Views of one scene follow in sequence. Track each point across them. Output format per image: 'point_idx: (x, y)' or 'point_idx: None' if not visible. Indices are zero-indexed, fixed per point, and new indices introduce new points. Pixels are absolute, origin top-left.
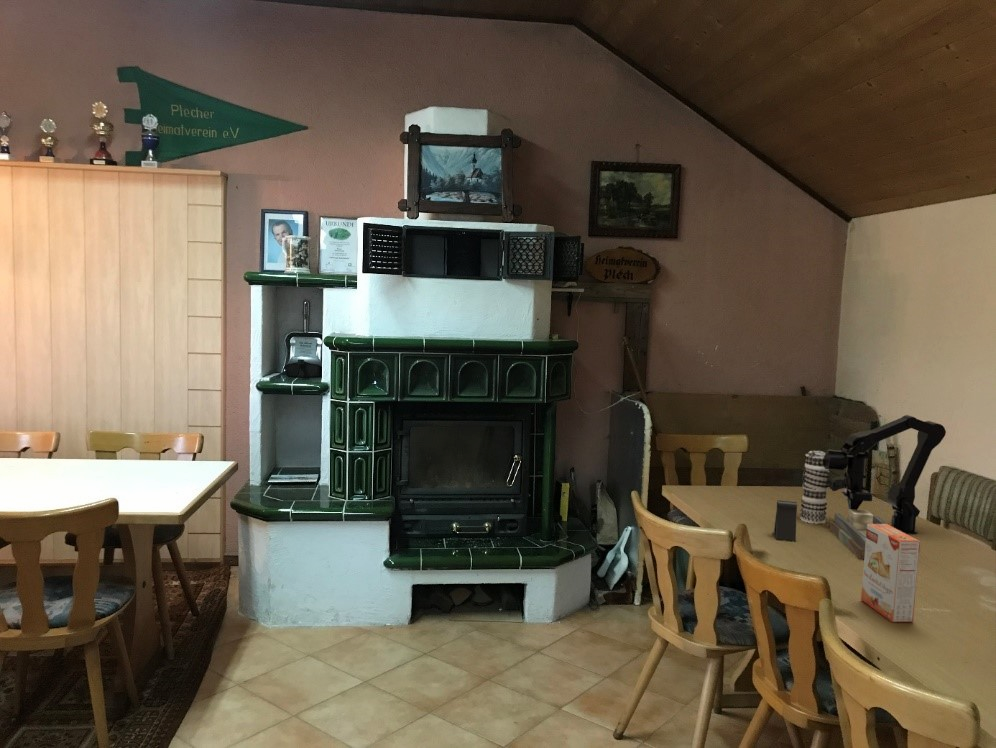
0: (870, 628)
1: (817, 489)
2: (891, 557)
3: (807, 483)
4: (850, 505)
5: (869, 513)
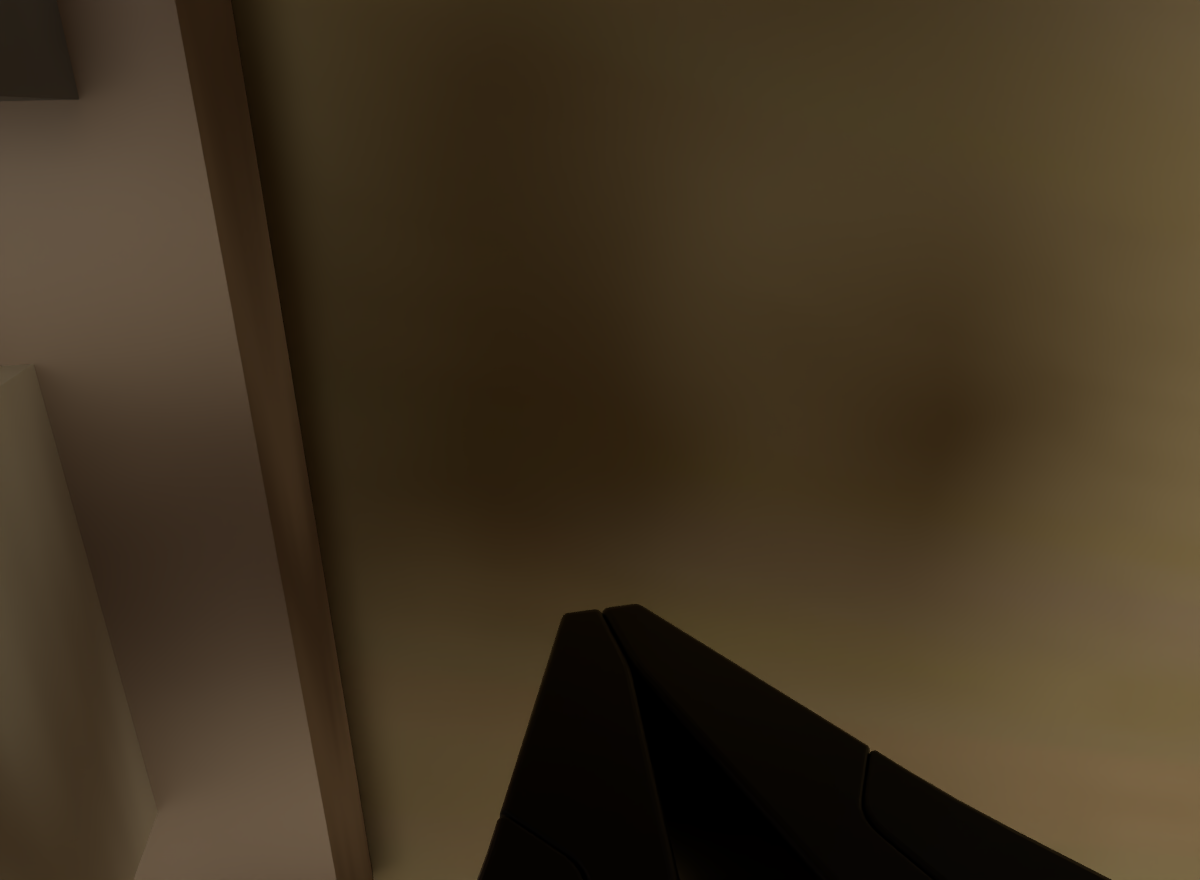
0: None
1: None
2: None
3: None
4: (493, 838)
5: None
